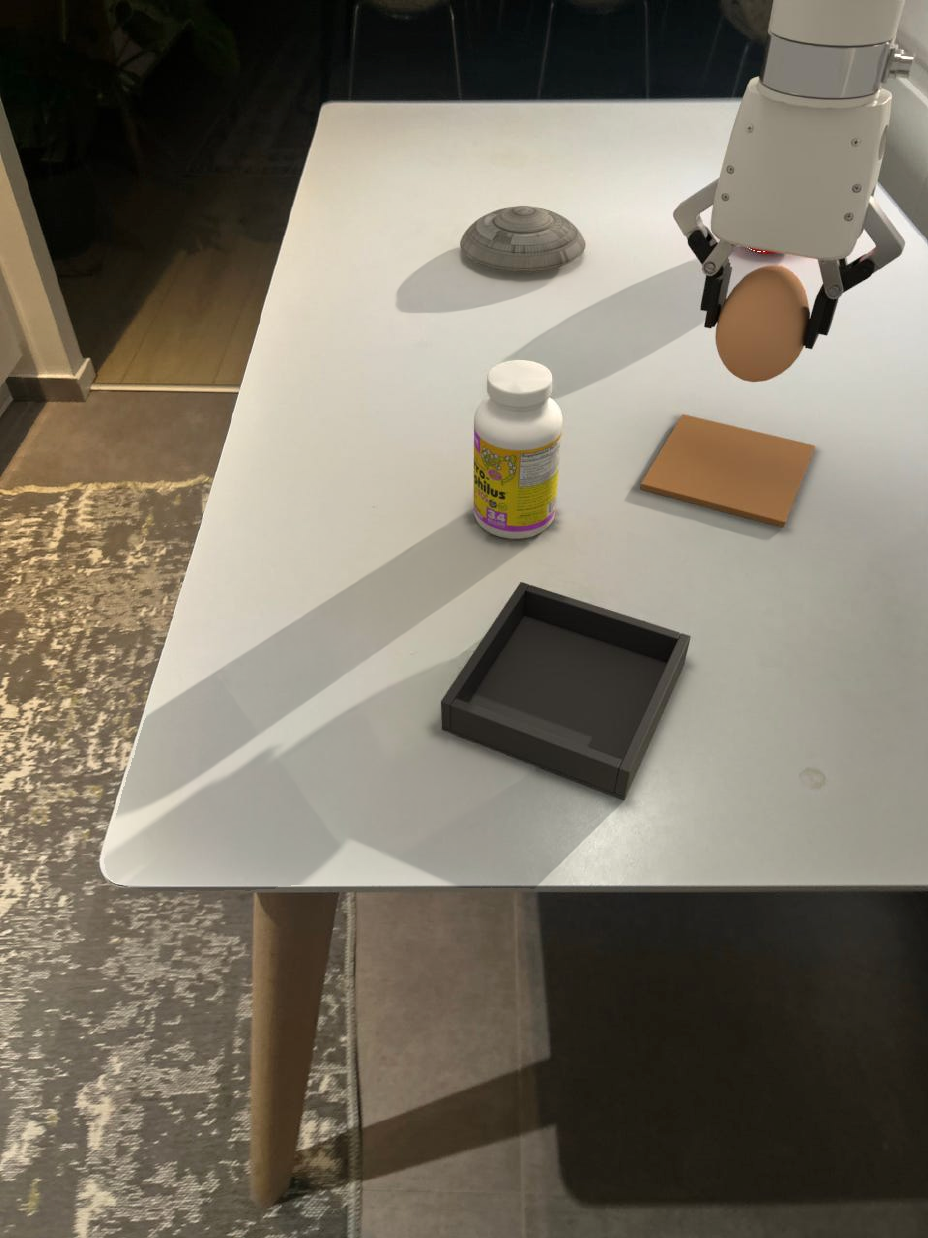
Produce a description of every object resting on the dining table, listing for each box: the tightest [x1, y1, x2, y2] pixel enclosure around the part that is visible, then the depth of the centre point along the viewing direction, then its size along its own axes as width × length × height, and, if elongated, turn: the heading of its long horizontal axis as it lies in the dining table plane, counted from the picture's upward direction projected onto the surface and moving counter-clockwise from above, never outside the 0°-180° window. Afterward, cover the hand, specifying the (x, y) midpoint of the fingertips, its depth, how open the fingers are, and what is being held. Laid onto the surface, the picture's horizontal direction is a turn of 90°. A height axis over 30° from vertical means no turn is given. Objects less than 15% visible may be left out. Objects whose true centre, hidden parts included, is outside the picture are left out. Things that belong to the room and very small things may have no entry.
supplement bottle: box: [473, 359, 564, 540], centre depth 70 cm, size 7×7×13 cm
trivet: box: [640, 413, 816, 528], centre depth 79 cm, size 12×12×1 cm
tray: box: [440, 581, 692, 801], centre depth 60 cm, size 12×12×3 cm
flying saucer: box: [459, 205, 586, 273], centre depth 109 cm, size 15×15×6 cm
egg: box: [714, 264, 811, 383], centre depth 70 cm, size 7×7×9 cm
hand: (761, 328), depth 70 cm, fingers closed on egg, 6 cm apart
